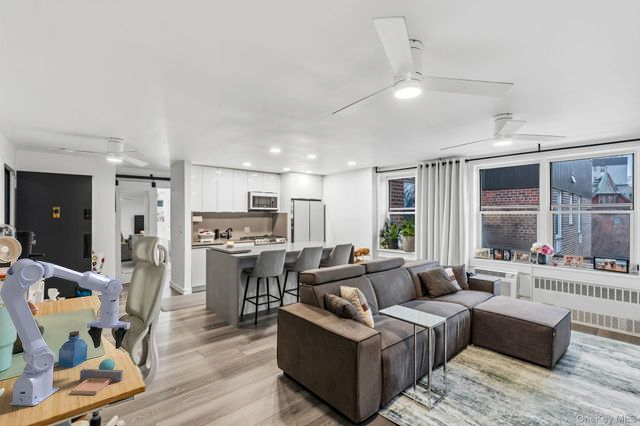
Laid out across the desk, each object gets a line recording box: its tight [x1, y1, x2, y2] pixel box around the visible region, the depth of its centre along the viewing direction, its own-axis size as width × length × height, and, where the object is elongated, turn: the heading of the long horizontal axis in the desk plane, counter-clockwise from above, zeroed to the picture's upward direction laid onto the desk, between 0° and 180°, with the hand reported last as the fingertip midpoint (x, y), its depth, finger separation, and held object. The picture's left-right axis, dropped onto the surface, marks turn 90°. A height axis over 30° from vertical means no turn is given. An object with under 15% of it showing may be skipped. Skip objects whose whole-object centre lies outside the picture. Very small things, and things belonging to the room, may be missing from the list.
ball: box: [98, 358, 116, 370], centre depth 118 cm, size 5×5×5 cm
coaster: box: [70, 378, 113, 396], centre depth 108 cm, size 8×8×1 cm
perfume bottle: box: [57, 330, 88, 369], centre depth 124 cm, size 6×6×12 cm
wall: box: [79, 368, 124, 383], centre depth 112 cm, size 1×14×4 cm, turn 92°
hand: (107, 347), depth 118 cm, fingers open, 7 cm apart
